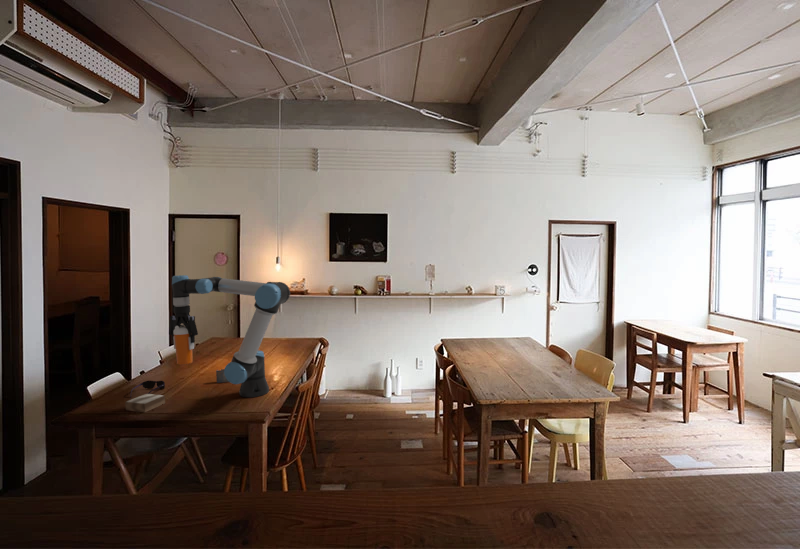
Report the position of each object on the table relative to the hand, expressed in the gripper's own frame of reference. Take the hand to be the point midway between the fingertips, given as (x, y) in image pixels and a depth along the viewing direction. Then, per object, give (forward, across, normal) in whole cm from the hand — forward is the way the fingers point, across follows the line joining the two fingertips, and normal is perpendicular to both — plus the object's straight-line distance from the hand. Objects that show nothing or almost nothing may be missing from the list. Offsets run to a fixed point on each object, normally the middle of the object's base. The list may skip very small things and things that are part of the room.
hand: (184, 348), depth 215 cm
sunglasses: (+28, +32, -5) cm, 42 cm away
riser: (+27, +14, +12) cm, 33 cm away
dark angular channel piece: (+28, +1, -32) cm, 43 cm away
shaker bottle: (+8, 0, 0) cm, 8 cm away
